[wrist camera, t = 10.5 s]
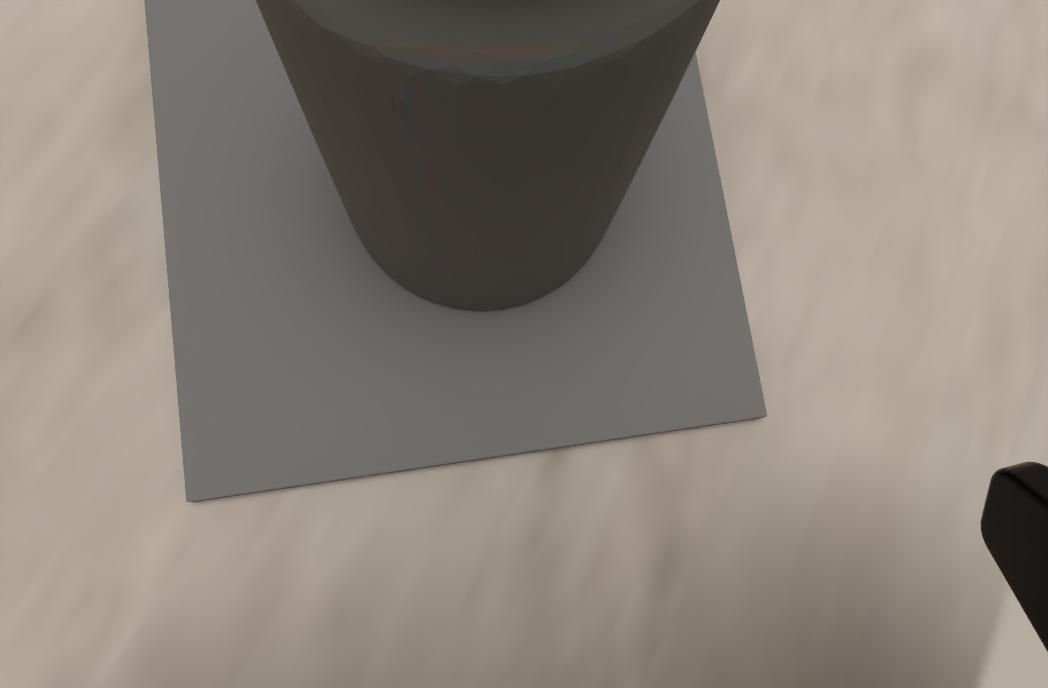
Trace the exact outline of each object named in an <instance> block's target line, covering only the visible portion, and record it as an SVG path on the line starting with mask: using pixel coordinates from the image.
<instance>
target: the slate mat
mask: <svg viewBox="0 0 1048 688" xmlns="http://www.w3.org/2000/svg"><path fill="white" fill-rule="evenodd" d="M145 10H146V22H147V34H148V46H149V58H150V70H151V82H152V94H153V106H154V118H155V130H156V142H157V154H158V166H159V178H160V190H161V202H162V214H163V226H164V238H165V249H166V261H167V273H168V285H169V297H170V309H171V321H172V333H173V345H174V357H175V369H176V381H177V393H178V405H179V417H180V429H181V441H182V453H183V465H184V477H185V489H186V501H187V502H196V501H203V500H210V499H216V498H223V497H230V496H237V495H243V494H250V493H257V492H264V491H271V490H277V489H284V488H291V487H298V486H304V485H311V484H318V483H325V482H331V481H338V480H345V479H352V478H358V477H365V476H372V475H379V474H385V473H392V472H399V471H406V470H412V469H419V468H426V467H433V466H439V465H446V464H453V463H460V462H467V461H473V460H480V459H487V458H494V457H500V456H507V455H514V454H521V453H527V452H534V451H541V450H548V449H554V448H561V447H568V446H575V445H581V444H588V443H595V442H602V441H608V440H615V439H622V438H629V437H636V436H642V435H649V434H656V433H663V432H669V431H676V430H683V429H690V428H696V427H703V426H710V425H717V424H723V423H730V422H737V421H744V420H750V419H757V418H762V417H766V416H767V414H766V409H765V404H764V399H763V394H762V388H761V383H760V378H759V373H758V368H757V363H756V358H755V353H754V348H753V343H752V338H751V333H750V328H749V322H748V317H747V312H746V307H745V302H744V297H743V292H742V287H741V282H740V277H739V272H738V267H737V261H736V256H735V251H734V246H733V241H732V236H731V231H730V226H729V221H728V216H727V211H726V206H725V201H724V195H723V190H722V185H721V180H720V175H719V170H718V165H717V160H716V155H715V150H714V145H713V140H712V135H711V129H710V124H709V119H708V114H707V109H706V104H705V99H704V94H703V89H702V84H701V79H700V74H699V69H698V63H697V58H696V53H694V55H693V58H692V60H691V62H690V64H689V66H688V68H687V70H686V72H685V74H684V76H683V78H682V81H681V83H680V85H679V87H678V89H677V91H676V93H675V95H674V97H673V99H672V101H671V104H670V106H669V108H668V110H667V112H666V114H665V116H664V118H663V120H662V122H661V124H660V126H659V128H658V130H657V132H656V134H655V136H654V138H653V140H652V142H651V144H650V146H649V148H648V150H647V152H646V154H645V156H644V158H643V160H642V162H641V164H640V166H639V168H638V170H637V172H636V174H635V176H634V178H633V180H632V182H631V184H630V186H629V188H628V190H627V192H626V194H625V196H624V198H623V200H622V202H621V204H620V206H619V208H618V210H617V212H616V214H615V216H614V218H613V220H612V222H611V223H610V225H609V227H608V229H607V231H606V233H605V235H604V237H603V239H602V241H601V242H600V244H599V245H598V247H597V248H596V250H595V251H594V253H593V254H592V256H591V257H590V258H589V260H588V261H587V262H586V263H585V264H584V265H583V266H582V267H581V268H580V269H579V270H578V271H577V272H576V273H575V274H574V275H573V276H572V277H571V278H570V279H569V280H568V281H567V282H566V283H564V284H563V285H561V286H560V287H558V288H556V289H555V290H553V291H552V292H550V293H549V294H547V295H545V296H543V297H541V298H538V299H536V300H534V301H531V302H529V303H527V304H523V305H519V306H515V307H512V308H508V309H499V310H485V311H479V310H466V309H456V308H452V307H449V306H445V305H441V304H437V303H434V302H432V301H429V300H427V299H425V298H423V297H421V296H418V295H417V294H415V293H413V292H411V291H410V290H408V289H406V288H405V287H403V286H401V285H400V284H399V283H398V282H397V281H395V280H394V279H393V278H392V277H391V276H390V275H389V274H387V273H386V272H385V271H384V270H383V269H382V268H381V267H380V266H379V265H378V264H377V263H376V261H375V260H374V259H373V258H372V256H371V255H370V254H369V252H368V251H367V250H366V248H365V247H364V245H363V243H362V241H361V240H360V238H359V236H358V234H357V233H356V231H355V229H354V227H353V225H352V223H351V221H350V218H349V216H348V214H347V212H346V209H345V207H344V205H343V203H342V200H341V198H340V196H339V193H338V191H337V189H336V187H335V184H334V182H333V180H332V178H331V175H330V173H329V171H328V169H327V166H326V164H325V162H324V160H323V157H322V155H321V153H320V150H319V148H318V146H317V143H316V141H315V139H314V136H313V134H312V132H311V129H310V127H309V125H308V122H307V120H306V118H305V115H304V113H303V111H302V108H301V106H300V104H299V101H298V99H297V97H296V94H295V92H294V89H293V87H292V85H291V82H290V80H289V78H288V75H287V73H286V71H285V68H284V66H283V64H282V61H281V59H280V57H279V54H278V52H277V50H276V47H275V45H274V43H273V40H272V38H271V36H270V33H269V31H268V29H267V26H266V24H265V21H264V19H263V17H262V14H261V12H260V9H259V7H258V4H257V2H256V0H145Z"/></svg>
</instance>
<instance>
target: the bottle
mask: <svg viewBox="0 0 1048 688" xmlns="http://www.w3.org/2000/svg"><path fill="white" fill-rule="evenodd" d="M719 1H720V0H256V2H257V4H258V7H259V9H260V12H261V14H262V17H263V19H264V21H265V24H266V26H267V29H268V31H269V33H270V36H271V38H272V40H273V43H274V45H275V47H276V50H277V52H278V54H279V57H280V59H281V61H282V64H283V66H284V68H285V71H286V73H287V75H288V78H289V80H290V82H291V85H292V87H293V89H294V92H295V94H296V97H297V99H298V101H299V104H300V106H301V108H302V111H303V113H304V115H305V118H306V120H307V122H308V125H309V127H310V129H311V132H312V134H313V136H314V139H315V141H316V143H317V146H318V148H319V150H320V153H321V155H322V157H323V160H324V162H325V164H326V166H327V169H328V171H329V173H330V175H331V178H332V180H333V182H334V184H335V187H336V189H337V191H338V193H339V196H340V198H341V200H342V203H343V205H344V207H345V209H346V212H347V214H348V216H349V218H350V221H351V223H352V225H353V227H354V229H355V231H356V233H357V234H358V236H359V238H360V240H361V241H362V243H363V245H364V247H365V248H366V250H367V251H368V252H369V254H370V255H371V256H372V258H373V259H374V260H375V261H376V263H377V264H378V265H379V266H380V267H381V268H382V269H383V270H384V271H385V272H386V273H387V274H389V275H390V276H391V277H392V278H393V279H394V280H395V281H397V282H398V283H399V284H400V285H401V286H403V287H405V288H406V289H408V290H410V291H411V292H413V293H415V294H417V295H418V296H421V297H423V298H425V299H427V300H429V301H432V302H434V303H437V304H441V305H445V306H449V307H452V308H456V309H466V310H479V311H485V310H499V309H508V308H512V307H515V306H519V305H523V304H527V303H529V302H531V301H534V300H536V299H538V298H541V297H543V296H545V295H547V294H549V293H550V292H552V291H553V290H555V289H556V288H558V287H560V286H561V285H563V284H564V283H566V282H567V281H568V280H569V279H570V278H571V277H572V276H573V275H574V274H575V273H576V272H577V271H578V270H579V269H580V268H581V267H582V266H583V265H584V264H585V263H586V262H587V261H588V260H589V258H590V257H591V256H592V254H593V253H594V251H595V250H596V248H597V247H598V245H599V244H600V242H601V241H602V239H603V237H604V235H605V233H606V231H607V229H608V227H609V225H610V223H611V222H612V220H613V218H614V216H615V214H616V212H617V210H618V208H619V206H620V204H621V202H622V200H623V198H624V196H625V194H626V192H627V190H628V188H629V186H630V184H631V182H632V180H633V178H634V176H635V174H636V172H637V170H638V168H639V166H640V164H641V162H642V160H643V158H644V156H645V154H646V152H647V150H648V148H649V146H650V144H651V142H652V140H653V138H654V136H655V134H656V132H657V130H658V128H659V126H660V124H661V122H662V120H663V118H664V116H665V114H666V112H667V110H668V108H669V106H670V104H671V101H672V99H673V97H674V95H675V93H676V91H677V89H678V87H679V85H680V83H681V81H682V78H683V76H684V74H685V72H686V70H687V68H688V66H689V64H690V62H691V60H692V58H693V55H694V53H695V51H696V49H697V47H698V45H699V43H700V41H701V39H702V37H703V35H704V32H705V30H706V28H707V26H708V24H709V22H710V20H711V18H712V16H713V14H714V12H715V9H716V7H717V5H718V3H719Z"/></svg>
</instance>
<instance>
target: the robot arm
mask: <svg viewBox="0 0 1048 688" xmlns="http://www.w3.org/2000/svg"><path fill="white" fill-rule="evenodd" d="M981 532H982V536H983V539H984V542H985V544H986V546H987V548H988V550H989V551H990V553H991V555H992V557H993V558H994V560H995V562H996V563H997V565H998V567H999V569H1000V570H1001V572H1002V574H1003V576H1004V577H1005V579H1006V581H1007V582H1008V584H1009V586H1010V588H1011V589H1012V591H1013V593H1014V594H1015V596H1016V598H1017V600H1018V601H1019V603H1020V605H1021V606H1022V608H1023V610H1024V612H1025V613H1026V615H1027V617H1028V619H1029V620H1030V622H1031V624H1032V626H1033V627H1034V629H1035V631H1036V632H1037V634H1038V636H1039V638H1040V639H1041V641H1042V643H1043V645H1044V646H1045V648H1046V650H1047V651H1048V467H1047V466H1045V465H1043V464H1040V463H1036V462H1025V463H1021V464H1017V465H1013V466H1009V467H1006V468H1002V469H999V470H997V471H996V472H995V473H994V474H993V476H992V478H991V481H990V485H989V489H988V493H987V497H986V501H985V506H984V510H983V514H982V518H981Z"/></svg>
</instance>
